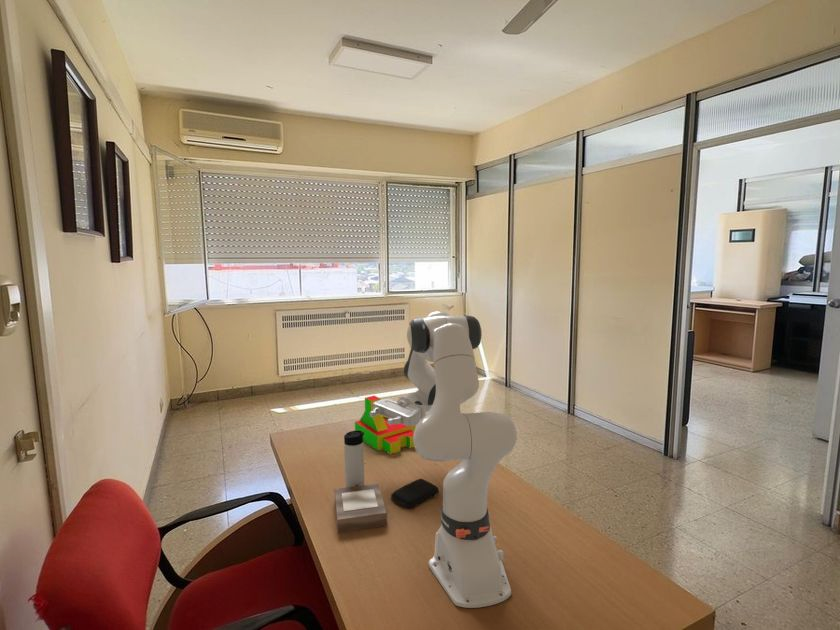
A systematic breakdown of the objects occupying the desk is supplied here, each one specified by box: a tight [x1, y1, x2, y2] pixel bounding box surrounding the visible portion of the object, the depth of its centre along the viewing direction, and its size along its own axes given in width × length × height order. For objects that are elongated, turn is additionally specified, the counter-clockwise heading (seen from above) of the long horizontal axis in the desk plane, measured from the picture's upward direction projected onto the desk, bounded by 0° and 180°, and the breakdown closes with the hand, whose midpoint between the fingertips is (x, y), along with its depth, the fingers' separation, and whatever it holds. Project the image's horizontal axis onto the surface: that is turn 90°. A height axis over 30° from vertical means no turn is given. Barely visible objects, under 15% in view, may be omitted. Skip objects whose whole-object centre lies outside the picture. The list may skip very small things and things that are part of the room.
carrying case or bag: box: [390, 478, 440, 510], centre depth 143 cm, size 11×3×15 cm
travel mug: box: [343, 430, 365, 488], centre depth 146 cm, size 6×7×20 cm
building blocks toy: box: [354, 395, 417, 455], centre depth 186 cm, size 19×25×18 cm
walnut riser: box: [334, 483, 388, 534], centre depth 134 cm, size 17×14×4 cm
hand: (379, 418), depth 153 cm, fingers open, 8 cm apart
